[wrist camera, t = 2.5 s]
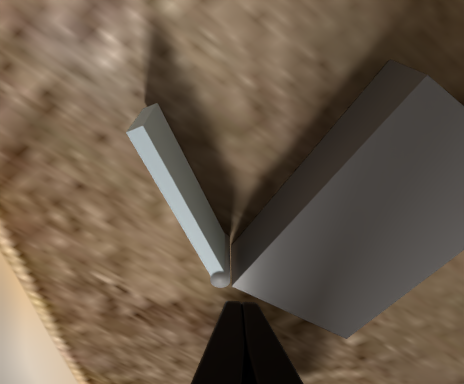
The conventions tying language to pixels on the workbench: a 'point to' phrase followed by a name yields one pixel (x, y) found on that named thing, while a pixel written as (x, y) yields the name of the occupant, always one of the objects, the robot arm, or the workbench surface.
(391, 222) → the camera block
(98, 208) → the workbench surface
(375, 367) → the workbench surface
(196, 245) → the side door
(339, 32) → the workbench surface
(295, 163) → the workbench surface
